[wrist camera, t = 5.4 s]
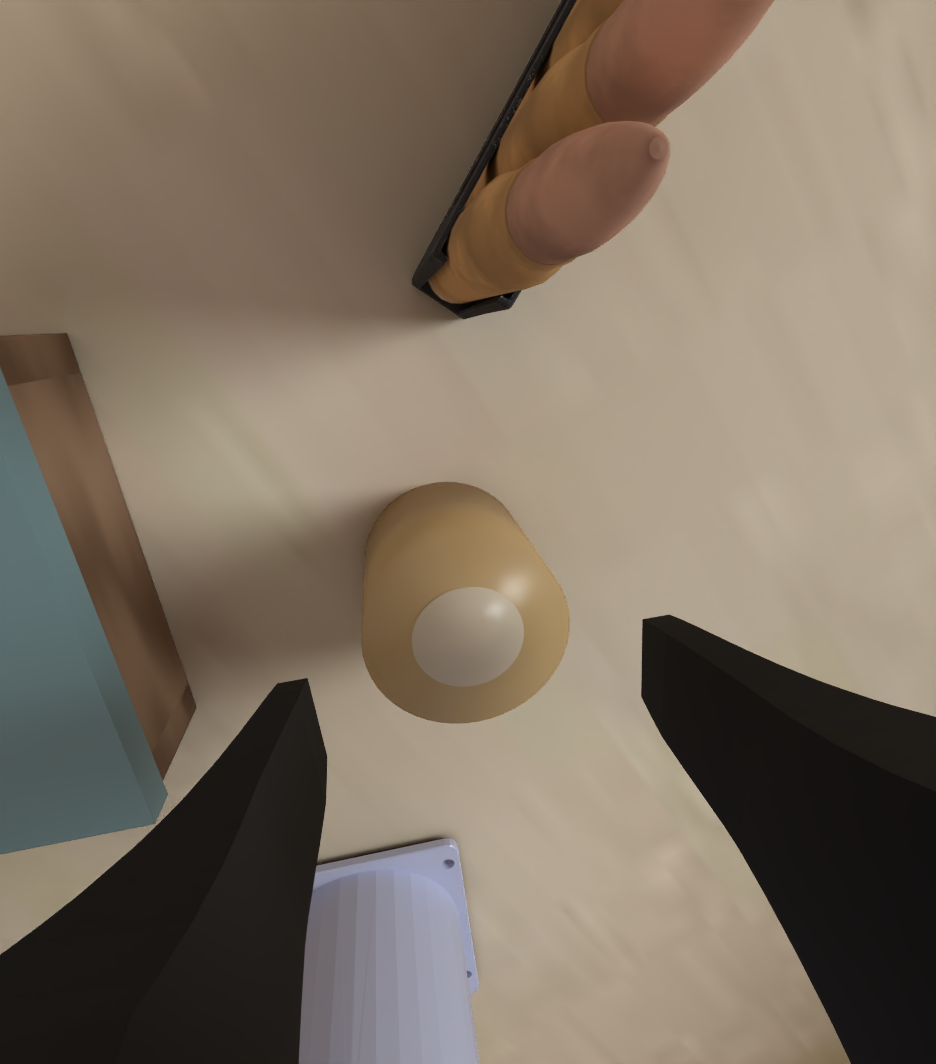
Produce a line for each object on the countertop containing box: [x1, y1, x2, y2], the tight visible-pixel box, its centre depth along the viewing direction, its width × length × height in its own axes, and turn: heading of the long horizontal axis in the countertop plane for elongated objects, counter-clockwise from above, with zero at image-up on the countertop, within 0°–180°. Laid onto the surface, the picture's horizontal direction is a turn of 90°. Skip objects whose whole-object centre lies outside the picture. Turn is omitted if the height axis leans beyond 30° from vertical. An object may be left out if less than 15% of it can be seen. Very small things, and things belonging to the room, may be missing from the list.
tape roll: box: [362, 482, 569, 723], centre depth 16 cm, size 5×5×5 cm
